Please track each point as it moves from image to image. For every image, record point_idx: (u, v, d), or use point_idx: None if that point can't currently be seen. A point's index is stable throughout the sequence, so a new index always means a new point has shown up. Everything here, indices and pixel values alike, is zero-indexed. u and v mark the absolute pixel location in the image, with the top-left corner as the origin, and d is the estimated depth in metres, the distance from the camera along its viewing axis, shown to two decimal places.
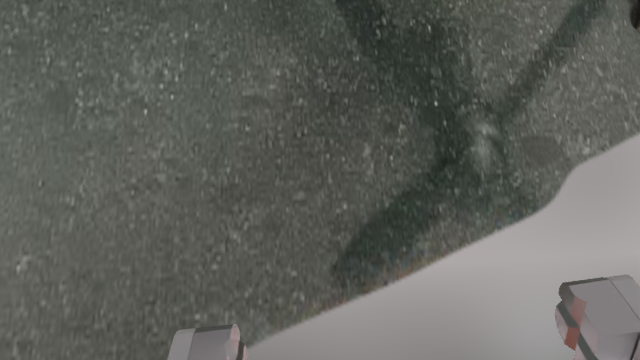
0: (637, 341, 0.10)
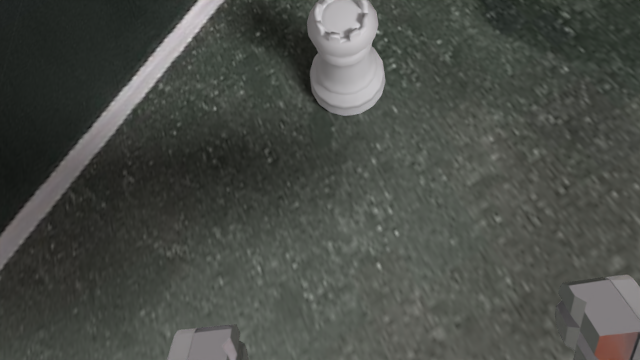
0: (637, 341, 0.10)
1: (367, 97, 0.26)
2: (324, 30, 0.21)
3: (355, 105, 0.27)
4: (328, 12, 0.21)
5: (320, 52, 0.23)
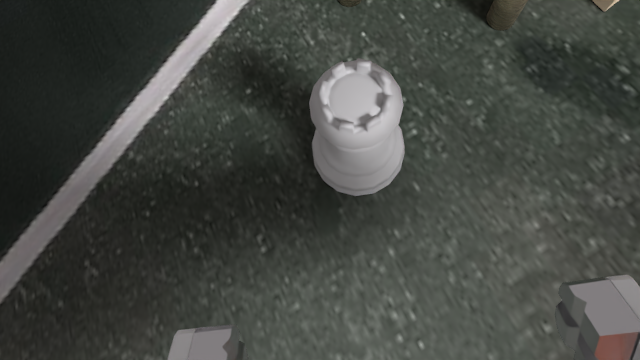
0: (637, 341, 0.10)
1: (384, 177, 0.21)
2: (332, 116, 0.16)
3: (369, 187, 0.21)
4: (337, 91, 0.16)
5: None
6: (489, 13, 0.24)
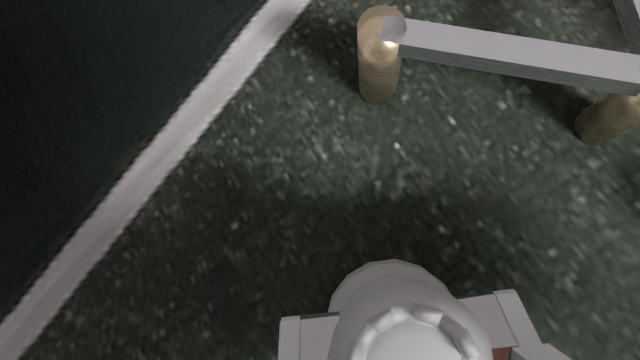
0: (510, 356, 0.10)
1: None
2: None
3: None
4: (380, 359, 0.09)
5: None
6: (581, 123, 0.16)
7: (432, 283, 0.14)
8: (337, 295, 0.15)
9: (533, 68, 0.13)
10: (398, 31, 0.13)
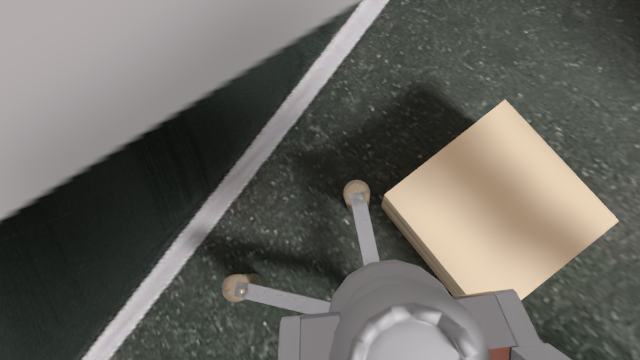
0: (510, 356, 0.10)
1: None
2: None
3: None
4: (380, 357, 0.09)
5: None
6: None
7: (431, 283, 0.15)
8: (338, 295, 0.15)
9: None
10: (243, 291, 0.24)
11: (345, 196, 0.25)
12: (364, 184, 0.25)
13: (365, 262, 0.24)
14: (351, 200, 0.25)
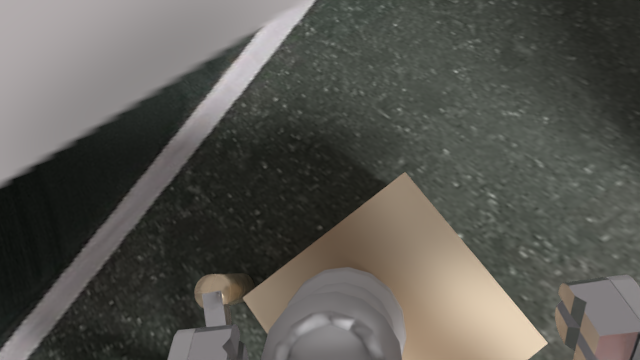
0: (637, 341, 0.10)
1: None
2: None
3: None
4: (301, 359, 0.10)
5: None
6: None
7: (377, 290, 0.16)
8: (292, 300, 0.16)
9: None
10: None
11: (197, 296, 0.19)
12: (222, 280, 0.19)
13: None
14: (203, 301, 0.19)
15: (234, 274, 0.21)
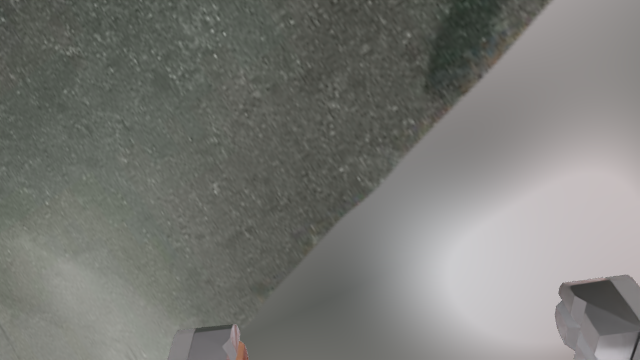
0: (637, 341, 0.10)
1: None
2: None
3: None
4: None
5: None
6: None
7: None
8: None
9: None
10: None
11: None
12: None
13: None
14: None
15: None
